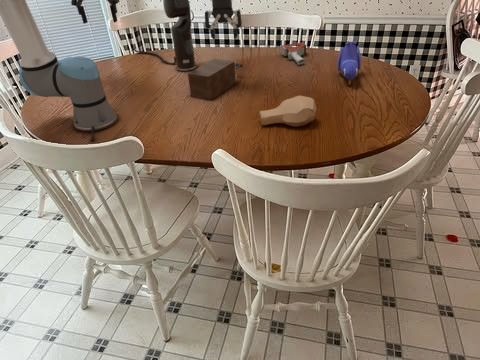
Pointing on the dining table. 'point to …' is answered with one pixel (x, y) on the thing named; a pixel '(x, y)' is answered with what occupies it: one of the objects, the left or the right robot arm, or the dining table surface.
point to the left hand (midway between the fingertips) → (100, 22)
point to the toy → (349, 61)
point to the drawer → (237, 68)
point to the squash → (291, 112)
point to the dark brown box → (212, 79)
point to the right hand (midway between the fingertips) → (224, 38)
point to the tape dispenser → (294, 52)
